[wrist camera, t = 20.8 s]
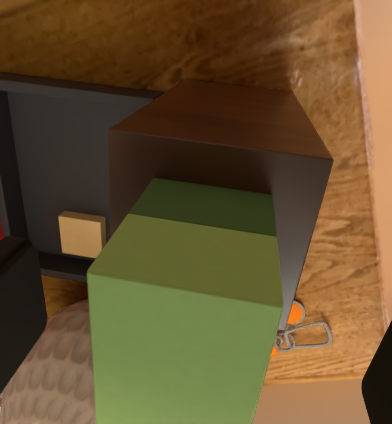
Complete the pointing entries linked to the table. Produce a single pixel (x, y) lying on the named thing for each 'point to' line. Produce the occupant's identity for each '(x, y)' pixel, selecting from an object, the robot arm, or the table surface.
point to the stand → (227, 158)
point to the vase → (55, 374)
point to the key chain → (295, 318)
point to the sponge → (185, 307)
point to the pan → (57, 159)
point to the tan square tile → (82, 233)
